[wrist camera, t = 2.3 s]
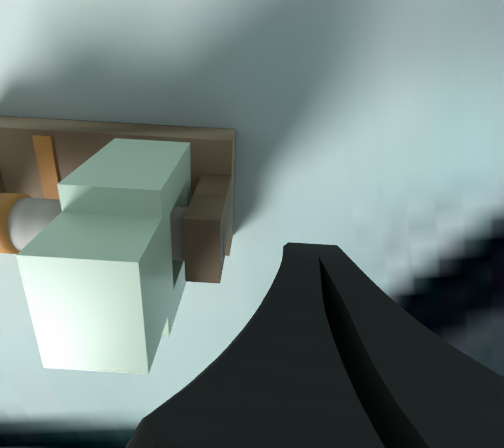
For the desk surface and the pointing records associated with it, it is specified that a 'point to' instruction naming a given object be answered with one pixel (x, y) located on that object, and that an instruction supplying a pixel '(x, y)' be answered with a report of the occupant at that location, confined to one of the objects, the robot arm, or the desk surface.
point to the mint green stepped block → (110, 259)
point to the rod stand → (89, 143)
